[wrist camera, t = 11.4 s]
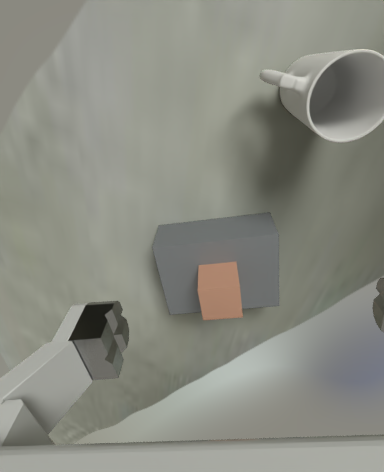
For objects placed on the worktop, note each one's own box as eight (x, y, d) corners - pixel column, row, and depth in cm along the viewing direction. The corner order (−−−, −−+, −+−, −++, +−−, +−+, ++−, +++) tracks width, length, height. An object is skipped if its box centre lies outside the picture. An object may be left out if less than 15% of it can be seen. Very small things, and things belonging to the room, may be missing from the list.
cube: (236, 261, 39) (239, 286, 35) (239, 290, 42) (242, 317, 38) (198, 265, 40) (197, 290, 36) (203, 293, 42) (203, 320, 38)
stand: (269, 212, 42) (278, 234, 37) (271, 279, 48) (279, 305, 43) (158, 225, 44) (152, 247, 39) (173, 288, 50) (169, 314, 45)
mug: (350, 61, 33) (415, 63, 22) (321, 124, 36) (367, 151, 26) (261, 35, 32) (288, 24, 21) (241, 102, 35) (255, 121, 25)
